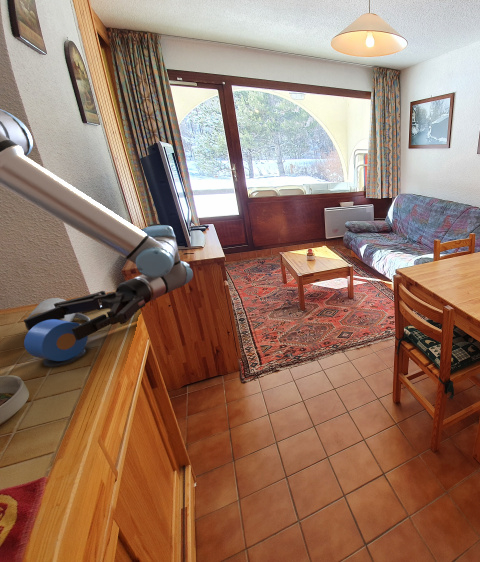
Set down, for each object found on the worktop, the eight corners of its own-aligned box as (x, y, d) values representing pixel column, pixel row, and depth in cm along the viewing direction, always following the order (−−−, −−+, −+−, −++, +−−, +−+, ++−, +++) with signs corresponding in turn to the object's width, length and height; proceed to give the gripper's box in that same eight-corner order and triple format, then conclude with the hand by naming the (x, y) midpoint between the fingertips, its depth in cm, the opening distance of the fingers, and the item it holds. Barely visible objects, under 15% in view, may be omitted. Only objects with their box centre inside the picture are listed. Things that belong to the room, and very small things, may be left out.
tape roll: (33, 365, 66) (16, 332, 63) (76, 343, 73) (63, 312, 70) (51, 369, 65) (34, 335, 62) (93, 346, 72) (80, 315, 69)
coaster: (35, 366, 67) (34, 363, 66) (67, 347, 73) (66, 345, 73) (63, 368, 66) (62, 366, 66) (93, 350, 72) (92, 348, 72)
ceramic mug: (29, 342, 74) (16, 314, 72) (44, 326, 81) (32, 299, 78) (85, 332, 79) (75, 306, 76) (95, 318, 86) (86, 293, 83)
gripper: (182, 308, 84) (102, 353, 65) (109, 297, 89) (15, 336, 70) (175, 282, 81) (90, 322, 62) (101, 273, 86) (0, 307, 67)
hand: (50, 330), depth 66 cm, fingers open, 13 cm apart
